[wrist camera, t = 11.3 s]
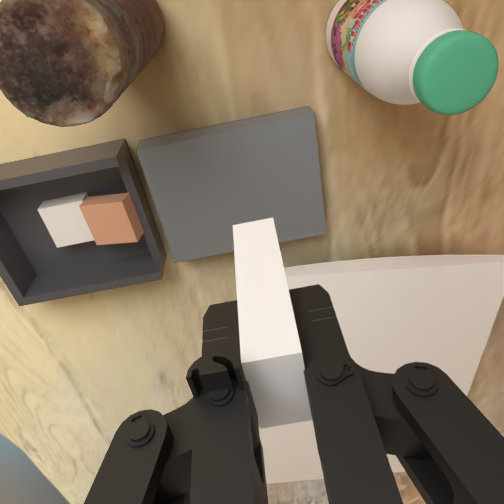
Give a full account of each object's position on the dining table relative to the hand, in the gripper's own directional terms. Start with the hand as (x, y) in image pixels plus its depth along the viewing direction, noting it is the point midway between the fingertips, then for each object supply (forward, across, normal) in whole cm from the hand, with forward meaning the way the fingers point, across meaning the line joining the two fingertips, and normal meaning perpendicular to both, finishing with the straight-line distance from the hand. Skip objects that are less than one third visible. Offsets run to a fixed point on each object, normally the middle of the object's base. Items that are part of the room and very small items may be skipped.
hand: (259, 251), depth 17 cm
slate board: (+32, -2, -12) cm, 34 cm away
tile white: (+31, -21, -12) cm, 40 cm away
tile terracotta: (+30, -16, -12) cm, 36 cm away
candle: (+32, -9, +6) cm, 34 cm away
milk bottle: (+32, +13, +1) cm, 35 cm away
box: (+32, -21, -12) cm, 40 cm away
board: (+32, +10, -47) cm, 58 cm away
